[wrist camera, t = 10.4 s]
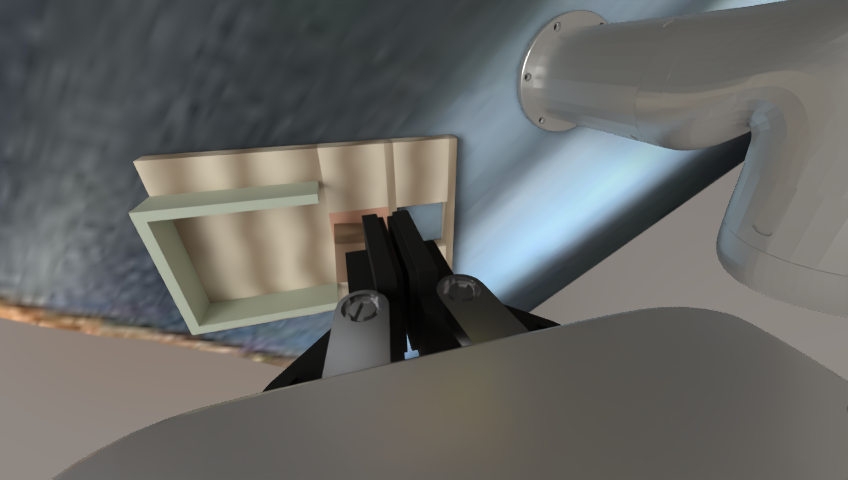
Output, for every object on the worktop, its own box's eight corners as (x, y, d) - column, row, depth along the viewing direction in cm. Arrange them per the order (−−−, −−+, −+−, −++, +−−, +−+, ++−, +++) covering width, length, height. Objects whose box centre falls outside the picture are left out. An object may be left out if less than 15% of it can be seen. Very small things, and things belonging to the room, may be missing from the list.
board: (451, 134, 38) (457, 138, 37) (446, 281, 49) (451, 289, 48) (143, 155, 31) (133, 161, 30) (218, 320, 42) (213, 331, 41)
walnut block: (376, 222, 39) (381, 242, 35) (375, 256, 41) (380, 279, 37) (333, 223, 38) (334, 244, 34) (335, 259, 40) (336, 282, 36)
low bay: (318, 180, 35) (317, 194, 31) (338, 288, 42) (339, 308, 39) (149, 196, 31) (128, 213, 28) (203, 311, 39) (192, 335, 36)
